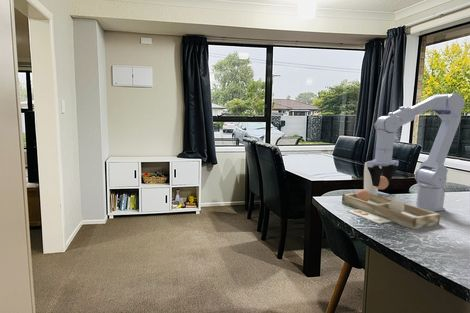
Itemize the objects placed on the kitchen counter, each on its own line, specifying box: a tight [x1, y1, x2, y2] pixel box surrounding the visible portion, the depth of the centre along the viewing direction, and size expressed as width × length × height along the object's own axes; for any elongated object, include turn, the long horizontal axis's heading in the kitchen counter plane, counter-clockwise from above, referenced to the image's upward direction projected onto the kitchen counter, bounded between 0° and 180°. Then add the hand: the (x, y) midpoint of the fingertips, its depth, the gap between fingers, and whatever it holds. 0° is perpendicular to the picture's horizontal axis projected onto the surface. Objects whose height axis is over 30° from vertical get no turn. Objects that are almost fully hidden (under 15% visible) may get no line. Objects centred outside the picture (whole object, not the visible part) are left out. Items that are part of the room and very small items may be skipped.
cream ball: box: [389, 198, 405, 213], centre depth 114 cm, size 5×5×5 cm
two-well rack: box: [341, 192, 441, 230], centre depth 118 cm, size 13×31×4 cm, turn 26°
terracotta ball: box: [375, 175, 389, 190], centre depth 120 cm, size 5×5×5 cm
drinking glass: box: [363, 161, 383, 195], centre depth 138 cm, size 7×7×15 cm
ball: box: [356, 189, 370, 202], centre depth 128 cm, size 5×5×5 cm
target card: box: [347, 208, 393, 225], centre depth 113 cm, size 6×14×1 cm, turn 26°
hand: (380, 185), depth 120 cm, fingers closed on terracotta ball, 5 cm apart
